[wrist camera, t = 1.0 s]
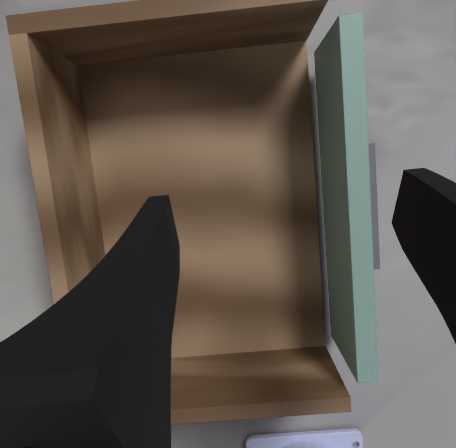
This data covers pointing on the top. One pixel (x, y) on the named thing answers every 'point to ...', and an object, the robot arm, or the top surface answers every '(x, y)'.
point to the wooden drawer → (190, 182)
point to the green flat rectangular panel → (348, 194)
